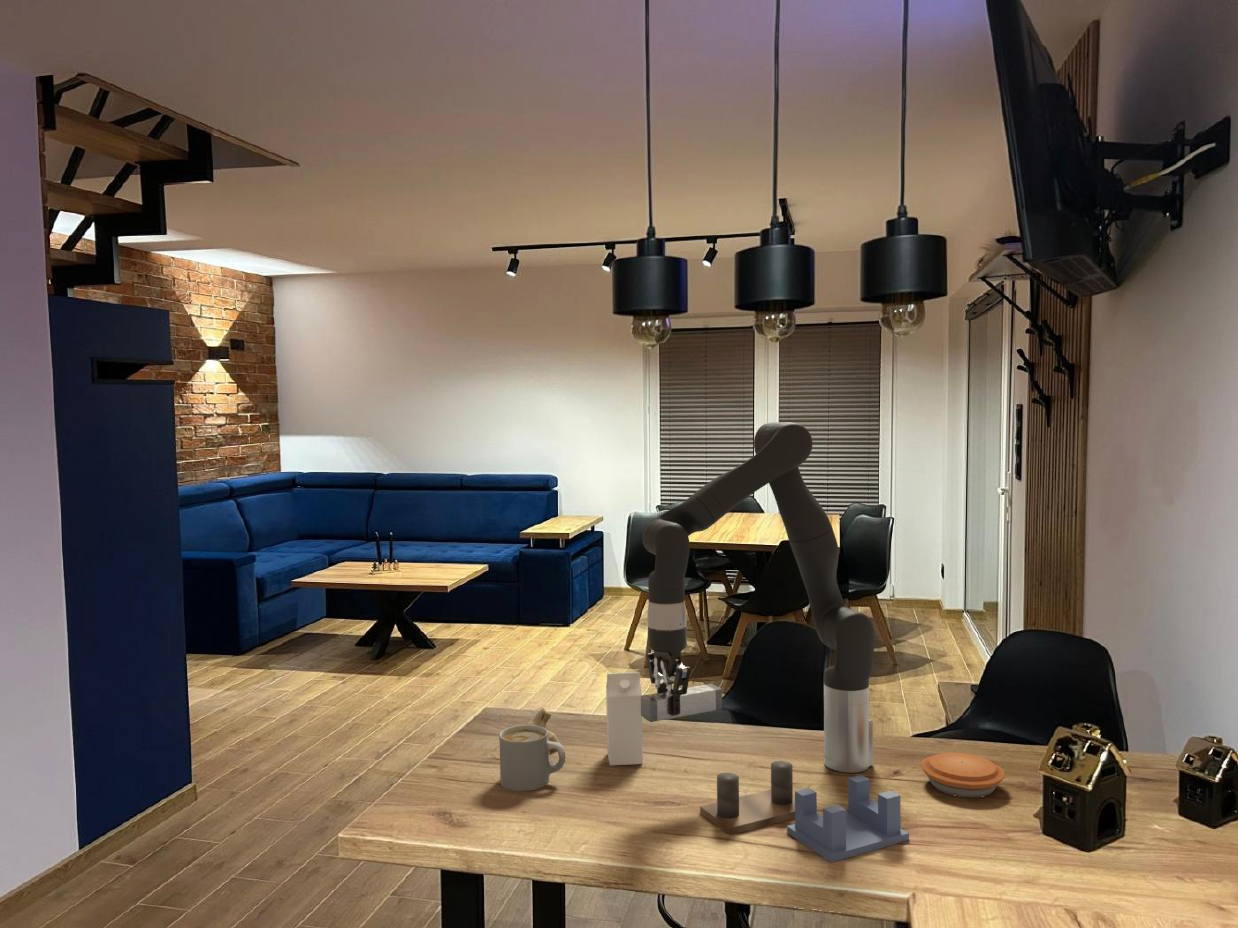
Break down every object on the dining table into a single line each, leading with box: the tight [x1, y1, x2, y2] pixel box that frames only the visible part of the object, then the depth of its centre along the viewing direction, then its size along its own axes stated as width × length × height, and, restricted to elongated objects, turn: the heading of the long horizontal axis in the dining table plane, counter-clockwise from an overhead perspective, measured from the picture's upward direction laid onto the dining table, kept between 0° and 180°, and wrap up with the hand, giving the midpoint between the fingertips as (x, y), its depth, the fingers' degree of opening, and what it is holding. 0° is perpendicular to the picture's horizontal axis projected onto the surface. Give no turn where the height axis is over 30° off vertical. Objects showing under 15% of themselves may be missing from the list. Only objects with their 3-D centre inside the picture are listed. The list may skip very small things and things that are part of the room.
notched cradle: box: [786, 774, 910, 863], centre depth 154 cm, size 17×12×8 cm
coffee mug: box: [498, 724, 566, 792], centre depth 179 cm, size 13×10×10 cm
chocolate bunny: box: [526, 707, 561, 754], centre depth 196 cm, size 6×8×10 cm
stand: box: [699, 760, 795, 836], centre depth 163 cm, size 18×10×8 cm, turn 116°
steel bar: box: [641, 683, 723, 723], centre depth 172 cm, size 16×4×4 cm, turn 115°
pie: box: [920, 752, 1006, 799], centre depth 174 cm, size 15×16×5 cm
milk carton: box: [605, 671, 644, 766], centre depth 190 cm, size 7×7×19 cm
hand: (668, 710), depth 170 cm, fingers closed on steel bar, 4 cm apart
